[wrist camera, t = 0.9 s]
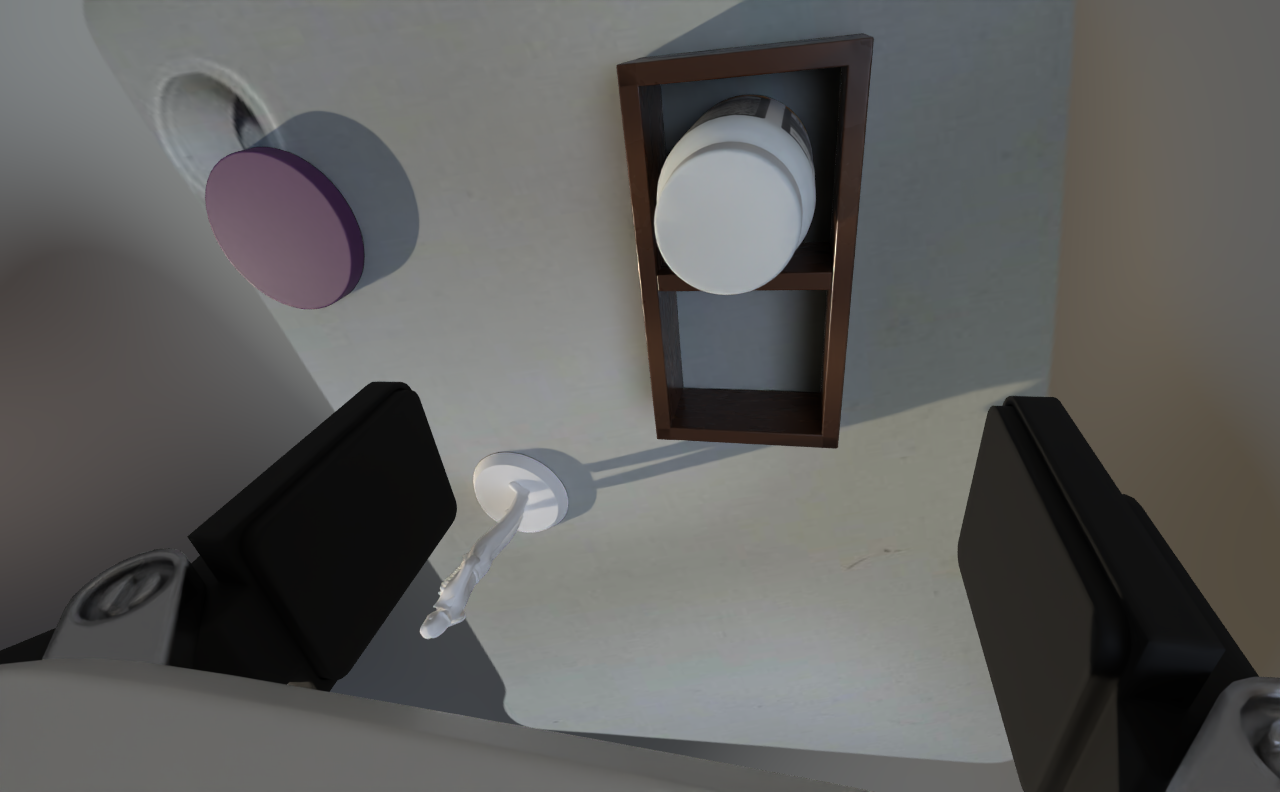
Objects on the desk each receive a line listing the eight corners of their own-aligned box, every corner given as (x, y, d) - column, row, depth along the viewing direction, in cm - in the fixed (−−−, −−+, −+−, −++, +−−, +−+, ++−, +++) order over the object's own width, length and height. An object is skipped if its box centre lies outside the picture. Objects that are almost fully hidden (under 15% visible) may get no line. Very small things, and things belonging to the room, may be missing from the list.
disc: (194, 152, 33) (175, 156, 32) (329, 140, 31) (313, 145, 30) (263, 302, 38) (249, 309, 37) (385, 301, 36) (374, 309, 35)
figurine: (482, 436, 40) (376, 576, 30) (580, 478, 40) (506, 631, 30) (465, 505, 44) (368, 648, 34) (554, 543, 44) (482, 696, 34)
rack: (640, 57, 26) (616, 64, 22) (864, 33, 23) (873, 37, 20) (670, 399, 35) (656, 439, 31) (834, 404, 32) (837, 449, 29)
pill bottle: (671, 205, 29) (619, 281, 21) (706, 74, 25) (660, 105, 17) (785, 240, 28) (777, 333, 20) (835, 113, 25) (849, 162, 17)
